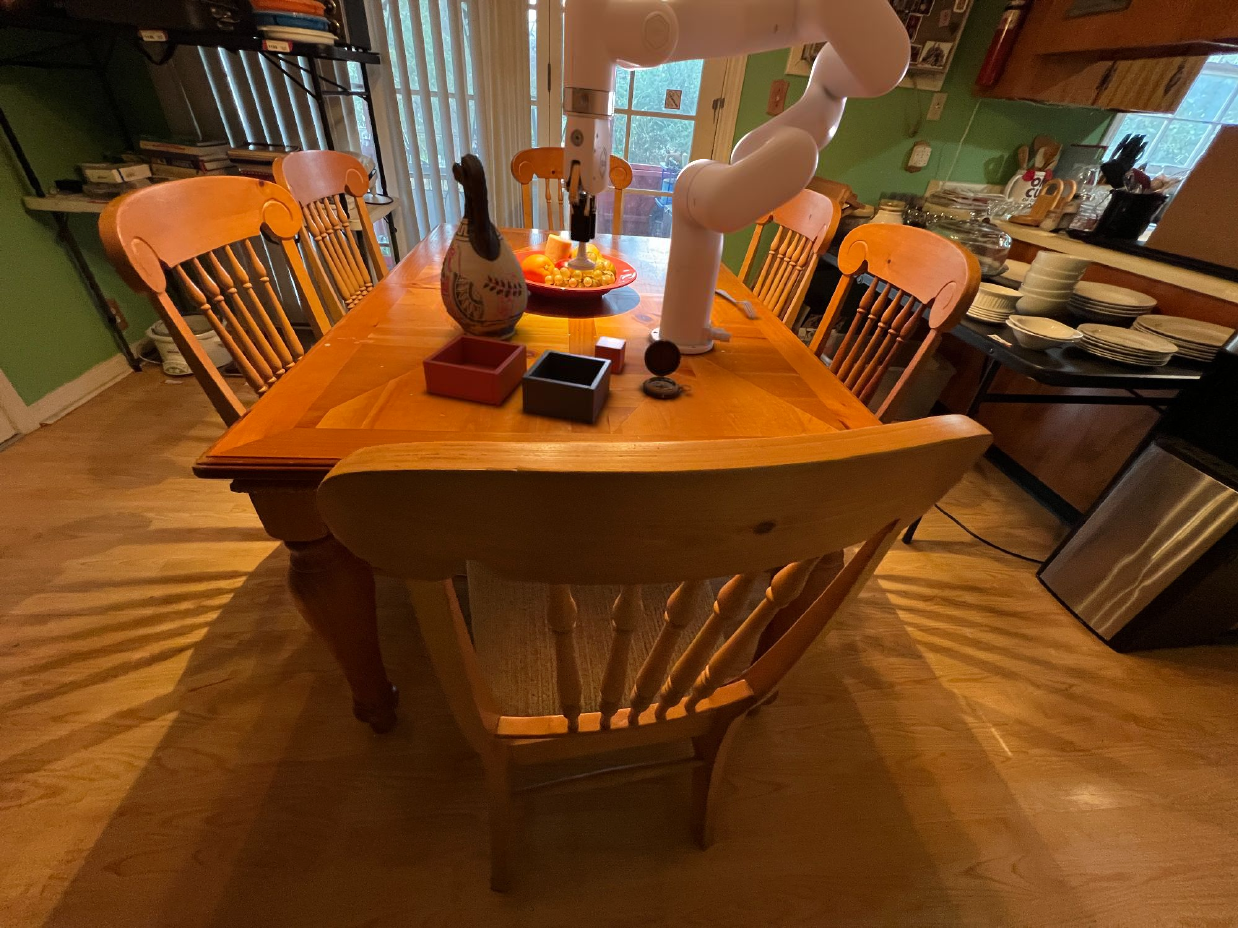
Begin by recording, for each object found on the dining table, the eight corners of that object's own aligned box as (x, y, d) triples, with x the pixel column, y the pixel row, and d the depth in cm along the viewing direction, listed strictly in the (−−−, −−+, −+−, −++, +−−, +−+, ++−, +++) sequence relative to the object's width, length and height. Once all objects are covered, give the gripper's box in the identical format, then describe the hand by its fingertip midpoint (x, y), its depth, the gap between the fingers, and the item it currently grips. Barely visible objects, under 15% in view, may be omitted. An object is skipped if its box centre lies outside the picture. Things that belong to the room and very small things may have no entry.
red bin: (527, 374, 84) (526, 345, 81) (499, 405, 75) (497, 374, 72) (462, 362, 86) (459, 334, 83) (427, 392, 76) (422, 361, 73)
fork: (719, 299, 135) (721, 289, 134) (758, 318, 118) (761, 306, 117) (710, 300, 135) (711, 289, 133) (748, 318, 117) (750, 306, 116)
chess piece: (563, 268, 85) (564, 202, 80) (571, 261, 89) (573, 199, 84) (591, 272, 85) (595, 206, 79) (598, 265, 89) (602, 202, 83)
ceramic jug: (440, 322, 100) (417, 144, 83) (517, 317, 106) (511, 150, 88) (453, 356, 88) (430, 155, 70) (540, 348, 93) (537, 161, 76)
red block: (624, 363, 91) (626, 340, 88) (618, 373, 87) (620, 349, 85) (599, 359, 91) (601, 336, 89) (593, 369, 88) (595, 345, 85)
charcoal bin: (609, 392, 81) (611, 360, 78) (592, 424, 73) (594, 389, 69) (546, 381, 83) (546, 349, 79) (522, 411, 74) (521, 377, 71)
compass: (643, 398, 80) (648, 355, 76) (641, 377, 87) (646, 336, 83) (693, 402, 81) (700, 359, 77) (687, 380, 87) (694, 340, 83)
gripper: (597, 107, 67) (590, 252, 78) (625, 110, 80) (616, 234, 90) (544, 101, 68) (544, 245, 79) (580, 105, 81) (576, 229, 92)
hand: (582, 239), depth 85 cm, fingers closed on chess piece
